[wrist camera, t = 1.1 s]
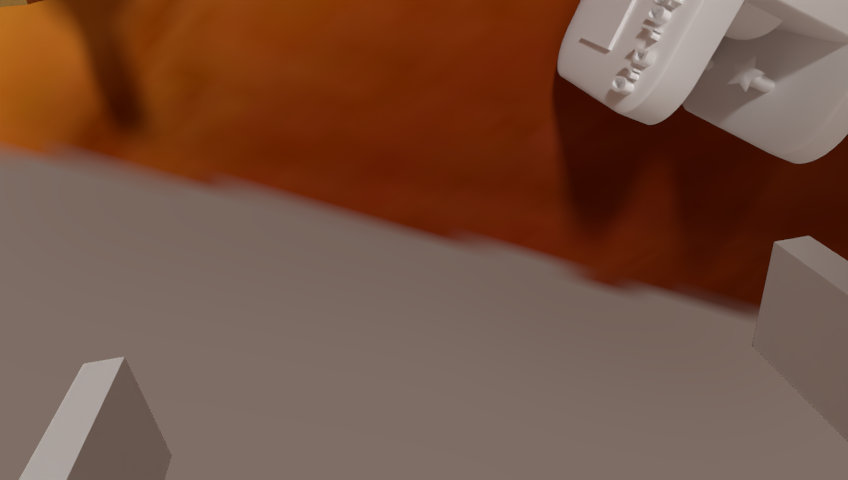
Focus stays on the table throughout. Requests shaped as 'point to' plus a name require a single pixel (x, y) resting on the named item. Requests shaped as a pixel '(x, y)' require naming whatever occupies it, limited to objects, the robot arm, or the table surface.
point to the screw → (16, 2)
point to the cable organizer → (719, 66)
